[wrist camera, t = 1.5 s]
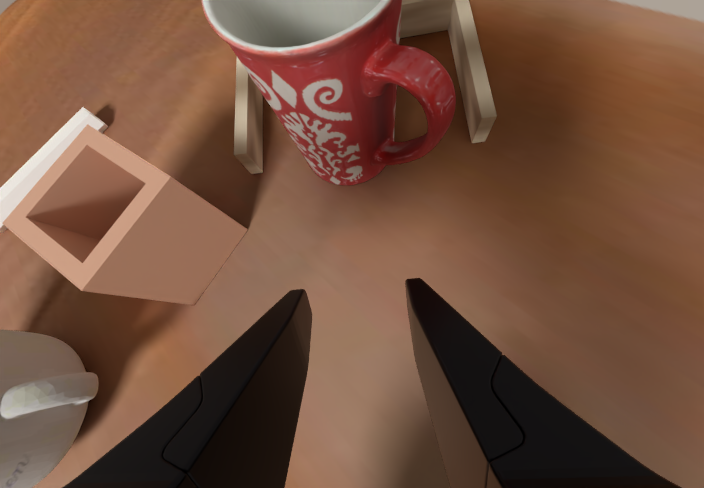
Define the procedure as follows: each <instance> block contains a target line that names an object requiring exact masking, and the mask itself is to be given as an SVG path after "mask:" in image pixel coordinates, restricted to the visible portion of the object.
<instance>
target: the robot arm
mask: <svg viewBox="0 0 704 488" xmlns="http://www.w3.org/2000/svg"><path fill="white" fill-rule="evenodd" d="M405 285H406V297H407V308H408V315H409V322H410V329H411V336H412V343H413V350H414V356H415V361H416V365H417V369H418V372H419V376H420V380H421V383H422V387H423V390H424V394H425V398H426V401H427V405H428V409H429V412H430V416H431V419H432V423H433V427H434V430H435V434H436V437H437V441H438V445H439V448H440V452H441V455H442V459H443V463H444V466H445V470H446V473H447V477H448V481H449V484H450V488H682V487H680V486H678V485H676V484H674V483H672V482H670V481H669V480H667V479H665V478H663V477H661V476H660V475H658V474H657V473H655V472H654V471H652V470H650V469H649V468H647V467H646V466H644V465H643V464H641V463H640V462H639V461H637V460H636V459H635V458H633V457H632V456H630V455H629V454H628V453H626V452H625V451H624V450H622V449H621V448H620V447H618V446H617V445H616V444H615V443H613V442H612V441H611V440H609V439H608V438H607V437H605V436H604V435H603V434H601V433H600V432H599V431H597V430H596V429H595V428H593V427H592V426H591V425H590V424H588V423H587V422H586V421H584V420H583V419H582V418H580V417H579V416H578V415H576V414H575V413H574V412H572V411H571V410H570V409H568V408H567V407H566V406H564V405H563V404H562V403H561V402H559V401H558V400H557V399H556V398H554V397H553V396H552V395H550V394H549V393H548V392H547V391H545V390H544V389H543V388H542V387H540V386H539V385H538V384H537V383H535V382H534V381H533V380H532V379H531V378H530V377H529V376H527V375H526V374H525V373H524V372H523V371H522V370H521V369H519V368H518V367H517V366H516V365H515V364H514V363H513V362H512V361H510V360H509V359H508V358H507V357H506V356H505V355H502V352H501V351H499V350H498V349H497V348H496V347H495V346H494V345H493V344H492V343H491V342H490V341H489V340H487V339H486V338H485V337H484V336H483V335H482V334H481V333H480V332H479V331H478V330H477V329H475V328H474V327H473V326H472V325H471V324H470V323H469V322H468V321H467V320H466V319H465V318H463V317H462V316H461V315H460V314H459V313H458V312H457V311H456V310H455V309H454V308H453V307H451V306H450V305H449V304H448V303H447V302H446V301H445V300H444V299H443V298H442V297H441V296H440V295H438V294H437V293H436V292H435V291H434V290H433V289H432V288H431V287H430V286H429V285H428V284H426V283H425V282H424V281H423V280H422V279H421V278H413V279H407V280H406V281H405ZM311 326H312V312H311V308H310V304H309V300H308V297H307V293H306V291H305V290H304V289H298V290H291V291H289V292H288V293H287V294H286V295H285V296H284V297H283V298H282V299H281V300H279V301H278V302H277V303H276V304H275V305H274V306H273V307H272V308H271V309H270V310H269V311H268V312H266V313H265V314H264V315H263V316H262V317H261V318H260V319H259V320H258V321H257V322H256V323H255V324H253V325H252V326H251V327H250V328H249V329H248V330H247V331H246V332H245V333H244V334H243V335H242V336H240V337H239V338H238V339H237V340H236V341H235V342H234V343H233V344H232V345H231V346H230V347H229V348H227V349H226V350H225V351H224V352H223V353H222V354H221V355H220V356H219V357H218V358H217V359H216V360H214V361H213V362H212V363H211V364H210V365H209V366H208V367H207V368H206V369H205V370H204V371H203V372H201V374H200V376H197V377H196V378H195V379H194V380H193V381H192V382H191V383H189V384H188V385H187V386H186V387H185V388H184V389H183V390H182V391H181V392H180V393H178V394H177V395H176V396H175V397H174V398H173V399H172V400H171V401H169V402H168V403H167V404H166V405H165V406H164V407H162V408H161V409H160V410H159V411H158V412H156V413H155V414H154V415H153V416H152V417H151V418H149V419H148V420H147V421H146V422H145V423H143V424H142V425H141V426H140V427H138V428H137V429H136V430H135V431H133V432H132V433H131V434H130V435H129V436H127V437H126V438H125V439H124V440H122V441H121V442H120V443H119V444H117V445H116V446H115V447H114V448H112V449H111V450H110V451H109V452H108V453H106V454H105V455H104V456H103V457H101V458H100V459H99V460H98V461H96V462H95V463H94V464H93V465H92V466H90V467H89V468H88V469H87V470H85V471H84V472H83V473H82V474H80V475H79V476H78V477H76V478H75V479H74V480H73V481H71V482H70V483H69V484H67V485H66V486H64V487H63V488H284V487H285V482H286V477H287V472H288V467H289V462H290V457H291V452H292V447H293V442H294V437H295V432H296V427H297V422H298V417H299V412H300V407H301V402H302V397H303V392H304V387H305V382H306V377H307V371H308V363H309V351H310V339H311Z"/></svg>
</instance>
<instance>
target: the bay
mask: <svg viewBox="0 0 704 488" xmlns="http://www.w3.org/2000/svg"><path fill="white" fill-rule="evenodd" d="M444 30H448V33H449V37H450V42H451V47H452V52H453V56H454V61H455V66H456V71H457V76H458V80H459V85H460V90H461V95H462V99H463V104H464V109H465V114H466V118H467V123H468V128H469V133H470V137H471V142H472V143H478V142H485V140H486V138H487V136H488V134H489V132H490V130H491V128H492V126H493V124H494V121H495V119H496V117H497V114H496V110H495V106H494V102H493V98H492V94H491V90H490V85H489V81H488V77H487V73H486V69H485V65H484V61H483V57H482V52H481V48H480V44H479V40H478V36H477V32H476V28H475V23H474V19H473V15H472V11H471V7H470V3H469V0H402V5H401V26H400V38H405V37H411V36H416V35H422V34H427V33H433V32H439V31H444ZM234 156H235V157H236V158H237V159H238V160H239V161H240V162H241V164H242V165H243V166H244V167H245V168H246V169H247V170H248V171H249V172H250V173H251V174H256V173H263V95H262V93H261V92H260V90H259V89H258V87H257V86H256V84H255V83H254V81H253V80H252V79H251V77H250V76H249V74H248V72H247V71H246V69H245V68H244V66H243V65H242V63H241V62H240V60H239V59H238V57H237V66H236V99H235V131H234Z"/></svg>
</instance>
